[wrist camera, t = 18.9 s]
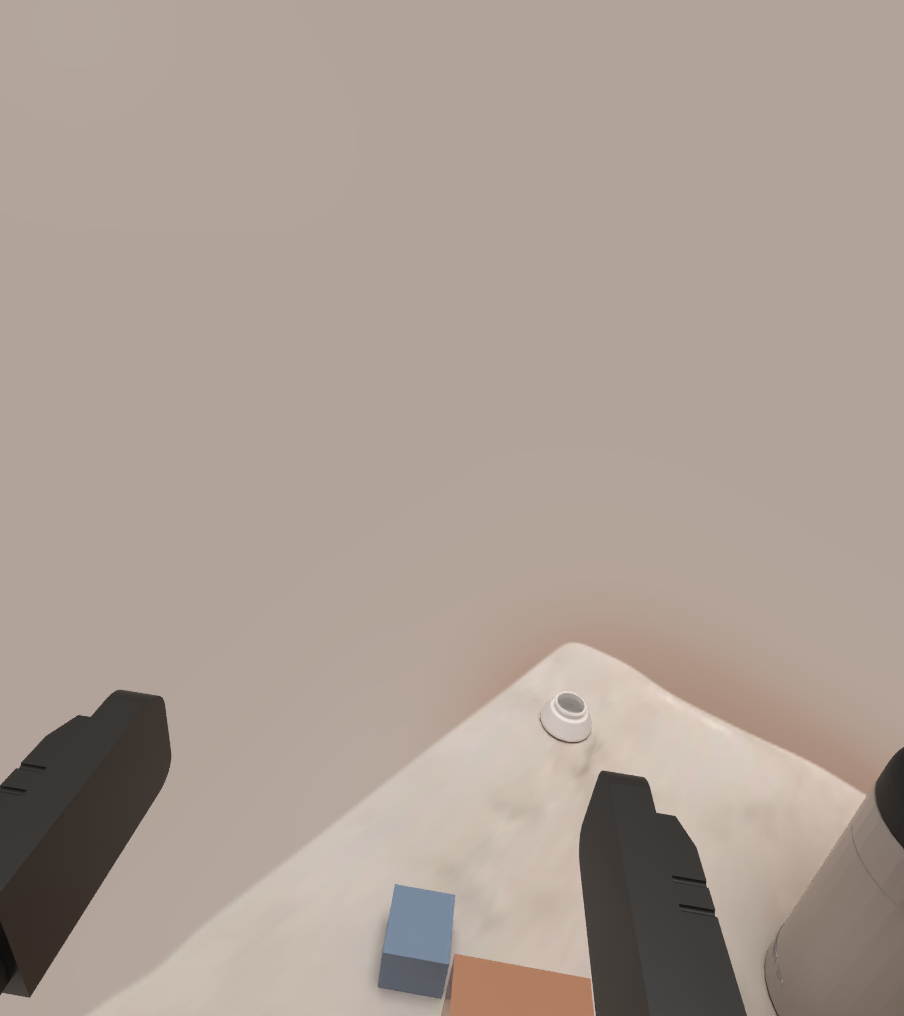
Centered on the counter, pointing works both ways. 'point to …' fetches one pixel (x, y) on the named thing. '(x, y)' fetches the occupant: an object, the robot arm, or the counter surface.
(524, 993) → the brown rectangular block
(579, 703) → the lidless jar
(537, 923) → the counter surface
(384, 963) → the blue rectangular block
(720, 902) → the counter surface
